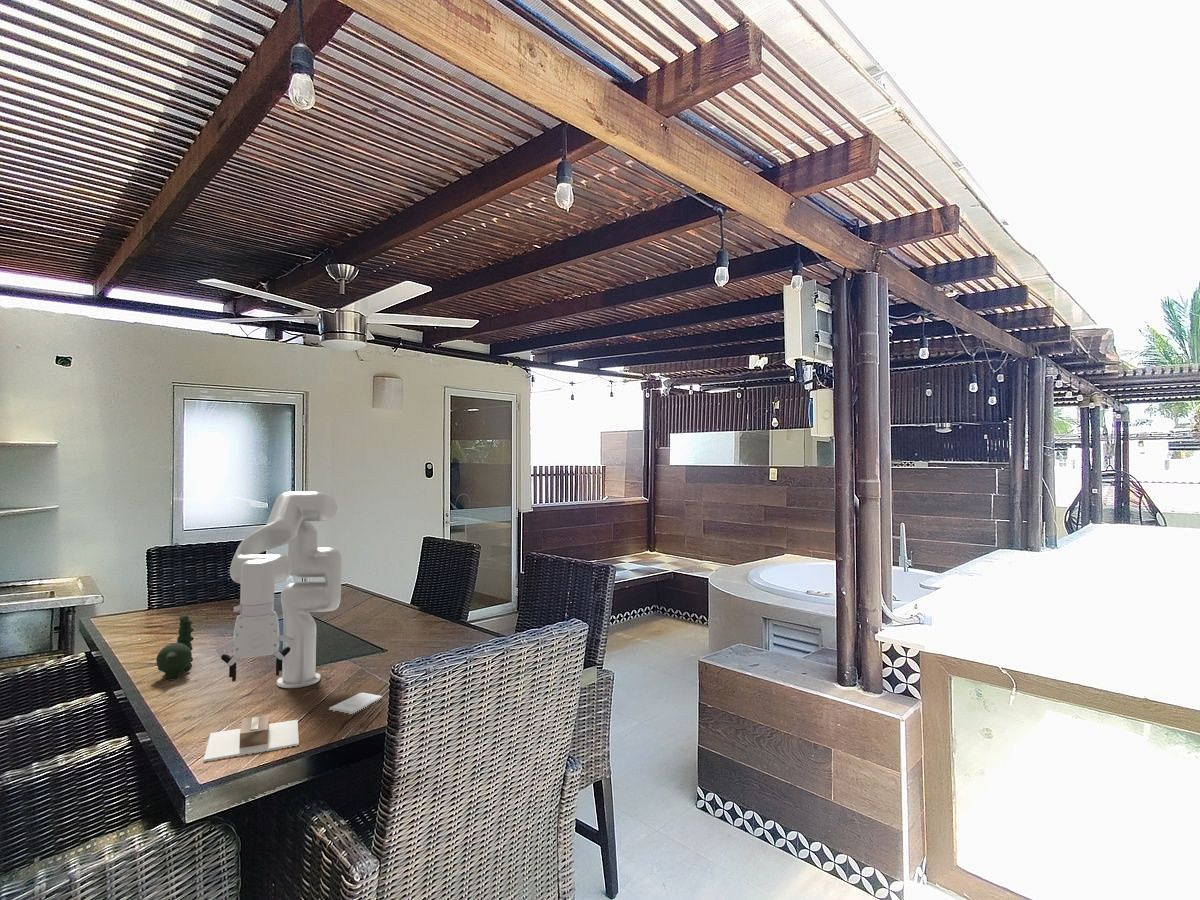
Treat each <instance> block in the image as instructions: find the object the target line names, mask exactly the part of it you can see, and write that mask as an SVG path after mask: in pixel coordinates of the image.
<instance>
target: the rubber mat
mask: <svg viewBox="0 0 1200 900" xmlns="http://www.w3.org/2000/svg"><path fill="white" fill-rule="evenodd" d="M298 720H299V719H294V720H293V719H292V720H287V721H279V722H272V723H269V733H268V743H267V744H263V745H257V746H251V747H245V748H239V745H240V730H241V727H240V728H235V729H229V730H228V729H227V730H223V731H222V730H221V731H217V732H210V735H209V738H208V741H207V746H206V750H205V752H204V755H203V763H207V762H206V761H208V762H212V761H213V760H214V761H219V760H218V759H220V760H224V759H223V758H225V759H230V758H229V757H231V758H235V757H234V756H237V757H240V756H239V755H243V756H245V755H244V754H248V755H253V754H252V753H254V754H259V752H260V753H266V752H271V751H276V750H283V749H288V748H287V747H289V748H292V746H295V747H298V746H297V745H299V746H300V740H299V738H300V737H299V721H298ZM282 748H283V749H282ZM265 751H266V752H265Z"/></svg>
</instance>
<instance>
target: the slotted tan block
mask: <svg viewBox="0 0 1200 900" xmlns="http://www.w3.org/2000/svg"><path fill="white" fill-rule="evenodd" d="M269 724H270V714H264V715H257V716H251V717H244V718H242V720H241V725H240V726H241V727H240V728H241V730H240V745H239V748H245V747H251V746H257V745H263V744H267V743H268V733H269Z"/></svg>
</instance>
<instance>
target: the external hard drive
mask: <svg viewBox="0 0 1200 900" xmlns="http://www.w3.org/2000/svg"><path fill="white" fill-rule="evenodd" d="M380 698H382V699H383V696H382V695H379V694H374V693H373V694H372V693H367V692H359V693H357V694H355V695H353V696H351V697H348V698H347V699H345V700H342V701H340V702H338V703H336V704H334V705H332V706H329V708H328V711H330V710H333V711H332V712H335V711H339V712H338V713H342V712H345V713H349V714H348V715H350V714H352V713H354V714H356V713H358V712H360V711H362V710H364V709H366V708H368V707H369V706H368V705H370V704H371V703H373V702H375V701H377V700H378V699H380ZM367 706H368V707H367ZM370 706H371V705H370ZM365 707H366V708H365ZM363 708H364V709H363ZM361 709H362V710H361ZM359 710H360V711H359ZM357 711H358V712H357ZM355 712H356V713H355ZM345 713H344V714H345ZM352 715H353V714H352Z"/></svg>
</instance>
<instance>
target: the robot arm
mask: <svg viewBox="0 0 1200 900" xmlns="http://www.w3.org/2000/svg"><path fill="white" fill-rule="evenodd" d="M337 508H338V507H337V501H336V499H335V497H334V496H333V495H332V494H329V493H326V492H323V491H322V492H321V491H286V492H282V493H281V494H279V495H278V496H277V497H276V499H275V501H274V503H273V506H272V509H271V512H270V514H269V516H268V519H267V520H266V524H265V525H264V526H261V527H260V528H259V529H257V530H255V531H254V532H252V533H250V534H249V535H248V536H246V537H245V538H244V539H243V540H242V541H240V543H239V544H238V546H237V549H236V551H235V553H234V555H233V558H232V560H231V564H230V568H229V575H230V578H231V579H232V581H233V582H234V583H236V584H240V595H239V597H240V600H239V601H240V603H239V604H238V605H236V606H233V610H232V611H233V613H236V612H237V613H238V614H239V615H237V616H236V619H235V623H234V629H233V638H232V639H230V640H228V641H226V642H225V643H223V644H221V645H220V646H218V647H217V648H216V650H215V651H216V653H217V654H218V655H219V657H220V659H221V660H222V661H223V662H224V663H226V664H227V666H229V668H228V676H229V677H228V678H229V679H230V678H231V682H232V683H234V682H236V680H237V661H238V659H245V658H256V657H264V656H270V655H271V656H272V655H274V656H275V658H276V659H275V676H277V677H278V678H277V680H276V685H277V686H278V687H279V688H284V689H298V688H303V687H309V686H312V685H315V684H317V683H318V682H319V681H320V680H321V674H320V673H319V672H316V668H317V667H316V660H317V658H316V657H317V654H316V653H317V624H316V623H317V622H316V621H315V619H314V617H313V616H312V615H311V614H310V613H316V612H317V613H319V612H321V613H322V612H333V611H335V610H337V609H338V608H339V607H340V604H341V601H342V600H341V598H342V570H343V569H342V568H343V565H342V560H343V559H342V555H341V551H339V550H338V548H336V547H329V546H328V547H321V546H318V530H317V528H316V527H315V525H314V524H313V522H330V521H332V520H333V519H334V518H335V515H336V513H337ZM285 545H287V555H286V554H279V553H277V554H276V553H275V554H274V553H273V554H272V553H270V554H269V553H268V554H263V553H264V552H266V551H269V550H272V549H276V548H279V547H281V546H285ZM261 553H262V554H261ZM289 577H294V578H303V579H304V578H305V579H306V578H324V581H323V580H322V581H321V580H320V581H295V582H290V583H288V584H286V585H285V586H284V587H282V590H281V592H280V602H281V608H282V609H281V610H282V615H283V616H282V618H283V619H282V620H283V632H282V633H283V634H281V633H280V623H279V616H278V613H277V612H276V611H275V584H280V583H283V582H285V581H286V580H287V579H288V578H289ZM280 642H283V643H282V650H281V649H280ZM229 648H232V656H230V655H229V654H227V652H226V650H227V649H229ZM280 672H282V676H280ZM279 676H280V677H279Z"/></svg>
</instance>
